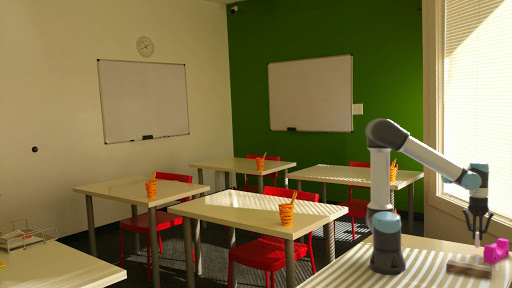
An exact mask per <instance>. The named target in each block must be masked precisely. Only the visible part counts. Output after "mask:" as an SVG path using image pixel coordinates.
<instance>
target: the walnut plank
mask: <svg viewBox="0 0 512 288" xmlns="http://www.w3.org/2000/svg"><path fill="white" fill-rule="evenodd" d="M445 264H446V265H445V270H446V272H452V273H457V274H461V275H466V276H467V275H468V276H472V277H473V276H474V277H477V278H483V279H488V280H490V279H491V277H492V275H493V267H492V266H487V265H483V264H482V265H481V264H475V263H470V262H464V261H459V260H452V259H448V261H447V262H446V263H445Z"/></svg>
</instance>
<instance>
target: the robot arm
mask: <svg viewBox="0 0 512 288" xmlns="http://www.w3.org/2000/svg"><path fill="white" fill-rule="evenodd" d="M364 132H365V138H366V148H367V150H368V151H369V152H370V202H369V203H368V204H367V207H366V208H367V209H366V210H367V211H366V215H365V223H366V225H367V228H368V229H369V230H370V232H371V233H372V244H373V248H372V249H373V250H372V252H371V256H370V259H369V268H370V269H371V271H374V272H375V273H378V274H384V275H398V274H402V273H403V272H405V271H406V270H407V264H406V260H405V258H404V255H403V252H402V222H401V221H402V220H401V217H400V215H398V214H397V213H396V212H395V213H394V205H393V204H391V151H394V152H396V153H400V152H401V153H402V154H404V155H406V156H407V157H409V158H412V159H413V160H415V161H416V162H418V163H420V164H421V165H424V166H425V167H426V168H428V169H430V170H432V171H434V172H435V173H437V174H439V175H440V178H441V181H442V182H443V183H444V184H450V185H451V184H454V185H456V186H459V187H461V188H462V189H464V190H465V191H468V194H469V196H468V206H467V208H463V210H462V213H463V215H464V217H465V222H466V226H467V231H469V232H472V240H474V241H475V242H474V248H476V249H479V248H480V247H481V244H480V243H481V241H483V238H484V237H483V234H487V233H488V231H489V228H490V224H491V221H492V218H493V217H494V216H495V212H494V211H491V210H490V207H489V177H490V167H489V163H487V162H485V161H471V162H469V166H463V165H461V164H459V163H457V162H456V161H454V160H452V159H450V158H449V157H447V156H445V155H443V154H442V153H440V152H438V151H436V150H435V149H433V148H431V147H429V146H428V145H427V144H425V143H423V142H421V141H419V140H418V139H416V138H414V137H412V136H411V134H410V132H408V131H407V130H405V129H404V128H402V127H400V125H399V124H397V123H396V122H394V121H392V120H391V119H387V118H380V117H379V118H378V117H377V118H375V119H372V120H371V121H369V122H368V123H367V125H366V127H365V130H364ZM469 213H470V214H471V215H472V223H471V218H470V214H469ZM486 214H487V216H488V217H487V218H486V219H487V220H486V222H485V226H484V216H486ZM477 222H478V224H477ZM477 226H478V230H477Z"/></svg>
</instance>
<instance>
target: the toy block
mask: <svg viewBox="0 0 512 288" xmlns="http://www.w3.org/2000/svg"><path fill="white" fill-rule="evenodd" d="M482 255H483V259H484V260H483V262H485V263H489V264H492V265H494V264H495V263H497V262H499V261H500V260H502V259H504V258H505V257H508V256H510V240H509V239H505V238H501V237H500V238H497V240H496V243H495V242H494V243H492V244H485V245H484V246H483V254H482Z"/></svg>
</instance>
